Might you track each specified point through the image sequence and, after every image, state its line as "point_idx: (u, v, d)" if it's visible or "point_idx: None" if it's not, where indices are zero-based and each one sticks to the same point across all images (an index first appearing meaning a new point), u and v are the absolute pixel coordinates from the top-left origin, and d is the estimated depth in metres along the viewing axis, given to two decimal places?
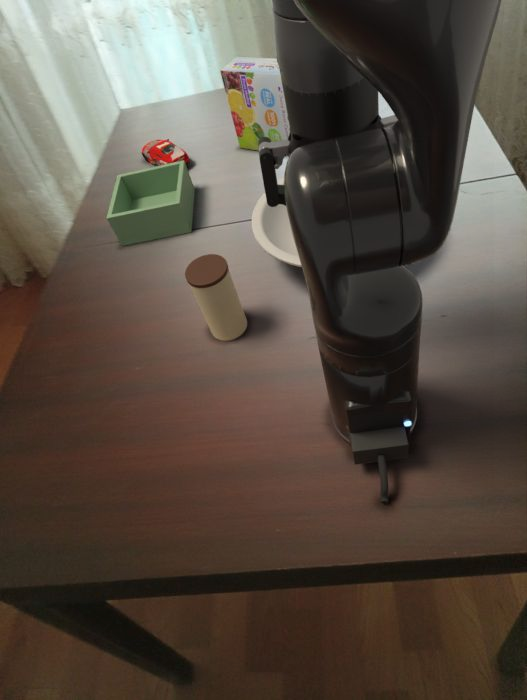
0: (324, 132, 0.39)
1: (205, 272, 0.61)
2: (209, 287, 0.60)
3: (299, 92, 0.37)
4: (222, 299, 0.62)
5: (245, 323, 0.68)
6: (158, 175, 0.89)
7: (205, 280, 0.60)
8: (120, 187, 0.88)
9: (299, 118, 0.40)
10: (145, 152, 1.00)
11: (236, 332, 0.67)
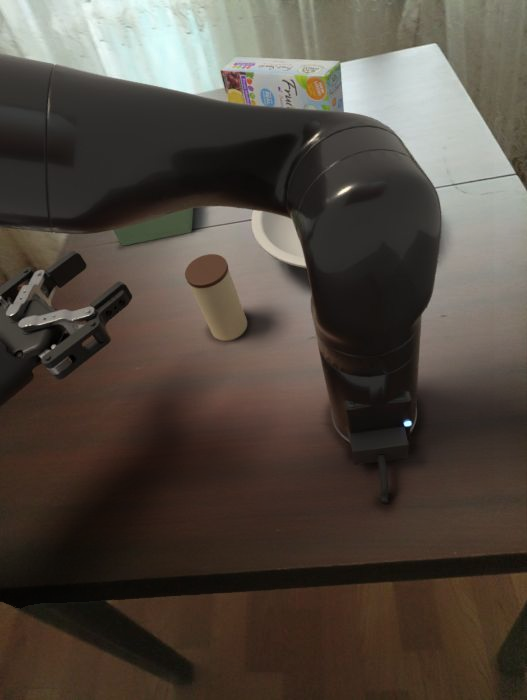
0: None
1: (205, 272, 0.61)
2: (209, 287, 0.60)
3: None
4: (222, 299, 0.62)
5: (245, 323, 0.68)
6: None
7: (205, 280, 0.60)
8: None
9: None
10: None
11: (236, 332, 0.67)
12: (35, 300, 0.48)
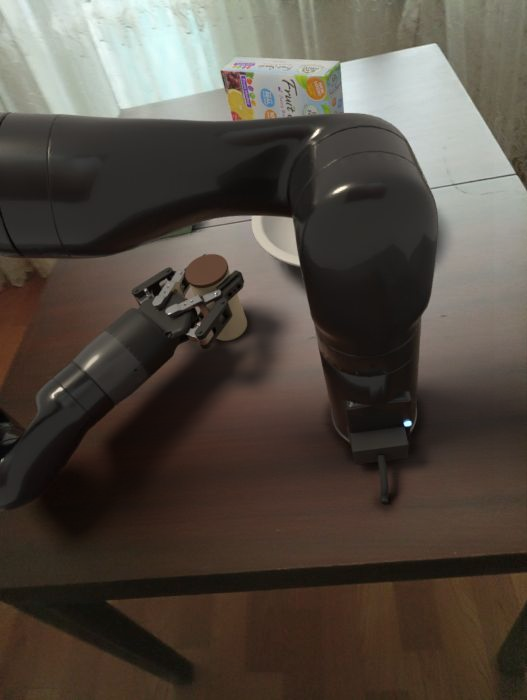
0: (140, 320, 0.55)
1: (205, 272, 0.61)
2: (209, 287, 0.60)
3: (129, 350, 0.54)
4: None
5: (245, 323, 0.68)
6: None
7: (205, 280, 0.60)
8: None
9: (147, 339, 0.55)
10: None
11: (236, 332, 0.67)
12: (175, 295, 0.61)
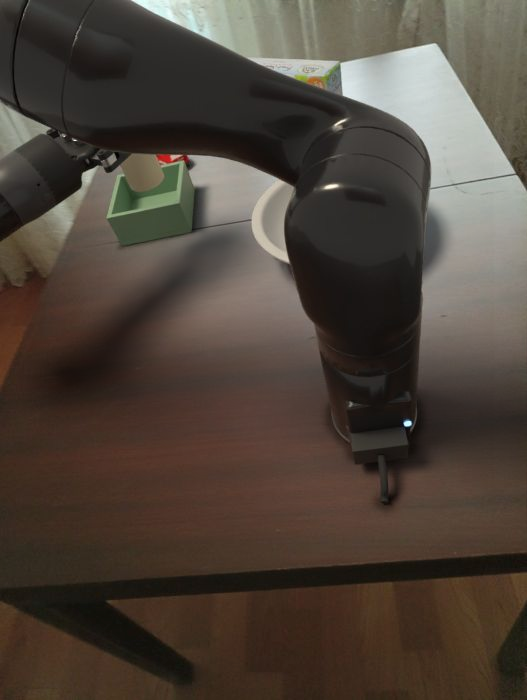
0: (44, 140, 0.59)
1: None
2: None
3: (31, 164, 0.57)
4: None
5: (161, 175, 0.71)
6: None
7: None
8: (120, 187, 0.88)
9: (50, 157, 0.58)
10: None
11: (151, 182, 0.70)
12: None
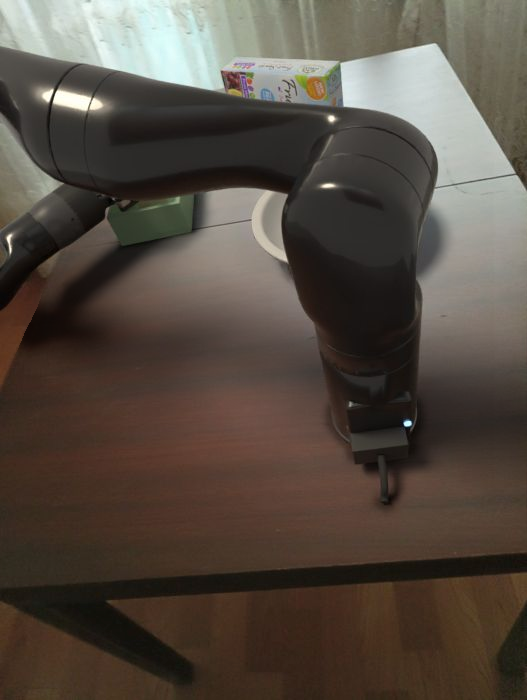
0: None
1: None
2: None
3: (67, 203, 0.73)
4: None
5: None
6: None
7: None
8: None
9: (81, 197, 0.74)
10: None
11: None
12: None
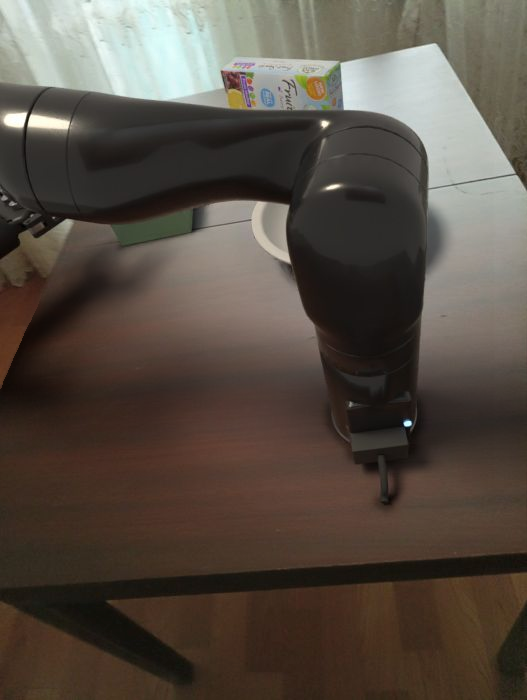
0: None
1: None
2: None
3: None
4: None
5: None
6: None
7: None
8: None
9: None
10: None
11: None
12: None
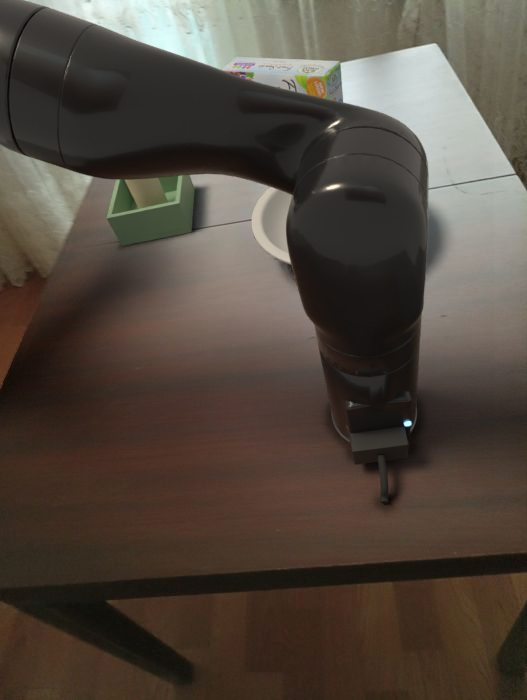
0: None
1: None
2: None
3: None
4: (145, 181, 0.81)
5: None
6: None
7: None
8: (120, 187, 0.88)
9: None
10: None
11: None
12: None
